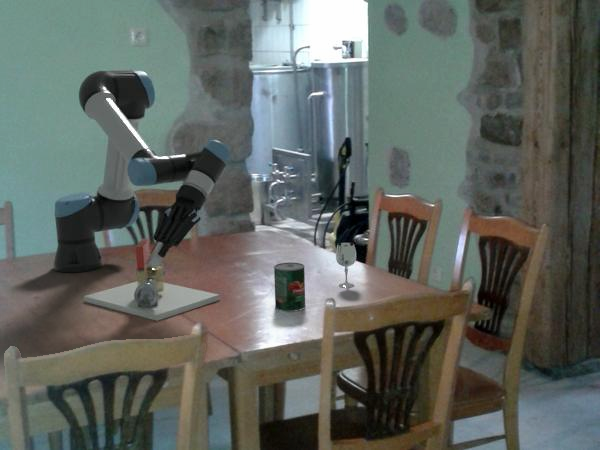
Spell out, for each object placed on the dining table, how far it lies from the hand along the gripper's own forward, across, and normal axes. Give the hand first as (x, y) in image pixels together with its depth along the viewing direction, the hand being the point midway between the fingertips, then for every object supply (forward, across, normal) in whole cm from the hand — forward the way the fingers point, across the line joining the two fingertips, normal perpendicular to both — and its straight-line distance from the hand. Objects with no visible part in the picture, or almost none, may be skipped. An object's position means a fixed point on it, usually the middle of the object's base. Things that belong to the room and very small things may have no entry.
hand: (150, 266), depth 200 cm
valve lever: (-1, +6, -3) cm, 7 cm away
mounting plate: (+4, +10, -14) cm, 18 cm away
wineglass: (-25, -26, -44) cm, 57 cm away
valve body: (+3, +10, -13) cm, 17 cm away
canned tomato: (-8, -26, -26) cm, 37 cm away
